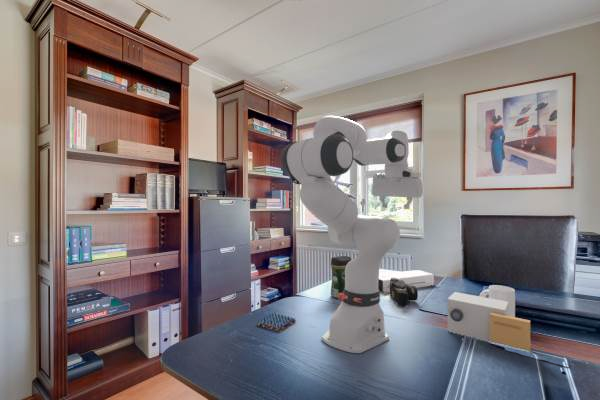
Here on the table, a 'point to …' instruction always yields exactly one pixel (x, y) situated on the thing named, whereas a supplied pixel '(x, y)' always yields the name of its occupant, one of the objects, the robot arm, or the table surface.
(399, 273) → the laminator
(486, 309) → the housing
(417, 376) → the table surface
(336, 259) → the coffee jar
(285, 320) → the woven mat
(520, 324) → the side door
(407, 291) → the camera
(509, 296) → the mug
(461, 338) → the table surface
